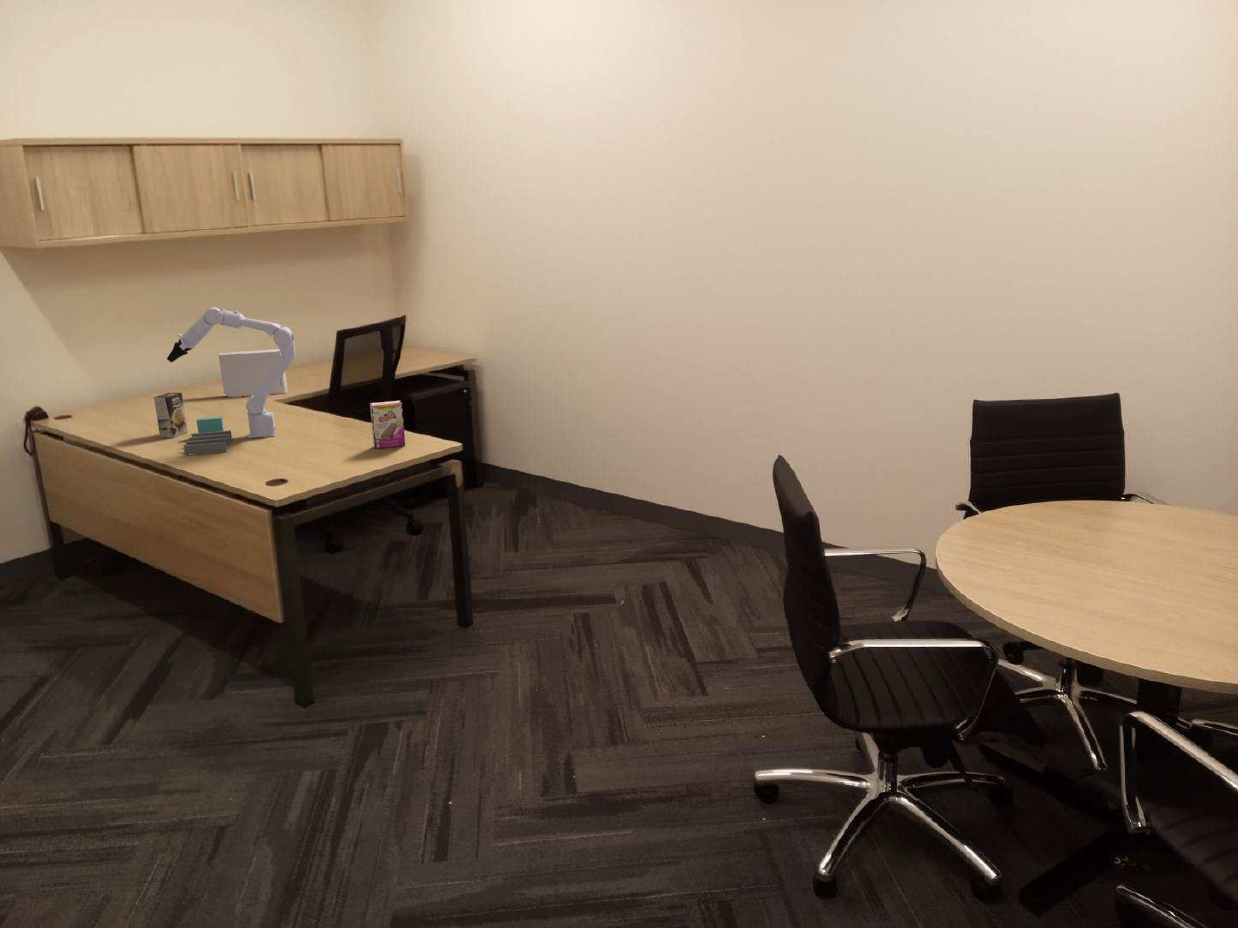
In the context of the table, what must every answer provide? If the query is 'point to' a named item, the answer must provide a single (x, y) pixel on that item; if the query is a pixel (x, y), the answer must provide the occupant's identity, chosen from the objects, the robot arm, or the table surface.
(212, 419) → the tall teal block
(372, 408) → the candy bar box
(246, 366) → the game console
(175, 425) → the coffee box
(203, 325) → the robot arm
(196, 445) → the rack
